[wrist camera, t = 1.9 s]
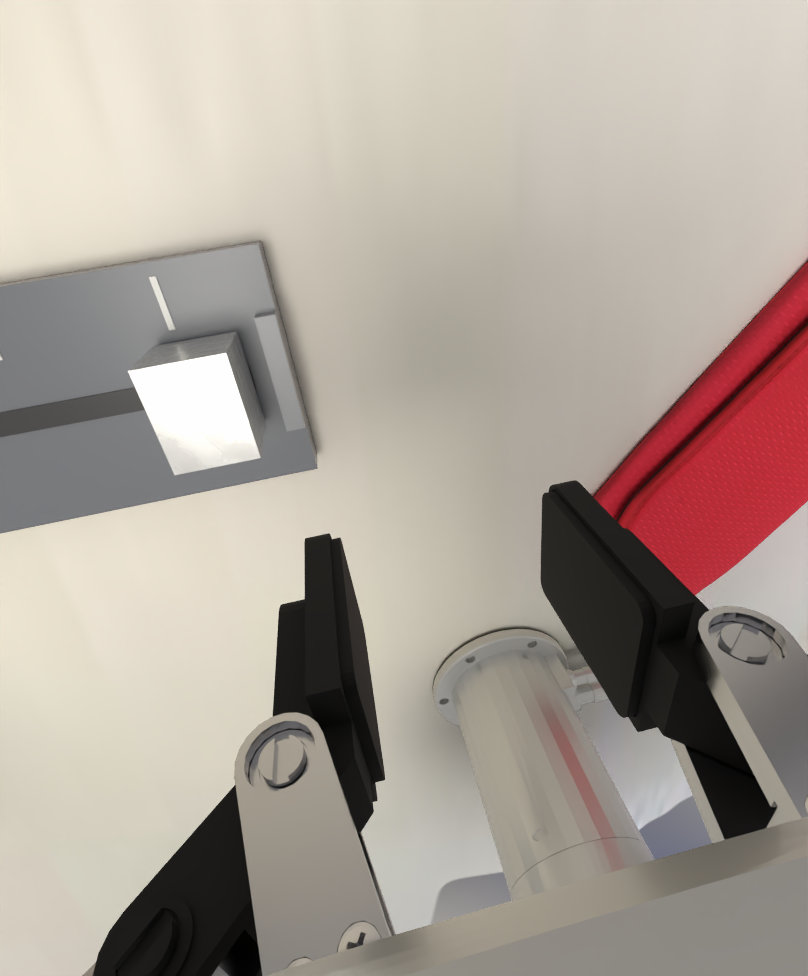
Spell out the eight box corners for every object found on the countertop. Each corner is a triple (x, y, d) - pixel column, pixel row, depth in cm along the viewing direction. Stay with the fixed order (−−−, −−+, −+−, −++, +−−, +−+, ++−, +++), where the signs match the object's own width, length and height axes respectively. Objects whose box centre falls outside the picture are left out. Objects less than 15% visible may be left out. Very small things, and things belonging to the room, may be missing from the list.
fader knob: (237, 330, 24) (225, 353, 20) (266, 424, 26) (260, 458, 23) (153, 346, 23) (127, 371, 20) (191, 439, 26) (174, 475, 22)
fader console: (261, 240, 24) (256, 245, 22) (316, 453, 30) (317, 474, 28) (-314, 335, 22) (-389, 352, 20) (-126, 542, 28) (-165, 574, 26)
